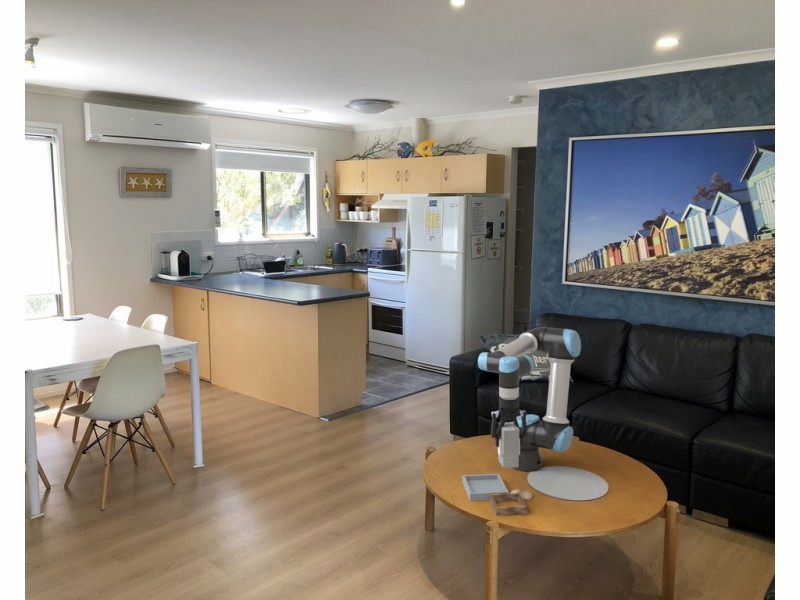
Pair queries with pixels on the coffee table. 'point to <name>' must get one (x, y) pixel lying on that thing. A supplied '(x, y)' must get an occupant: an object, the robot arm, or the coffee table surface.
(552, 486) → the coffee table surface
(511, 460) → the skincare box
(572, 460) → the coffee table surface
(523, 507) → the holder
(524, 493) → the curved potato chip
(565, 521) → the coffee table surface
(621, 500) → the coffee table surface
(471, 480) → the tray
